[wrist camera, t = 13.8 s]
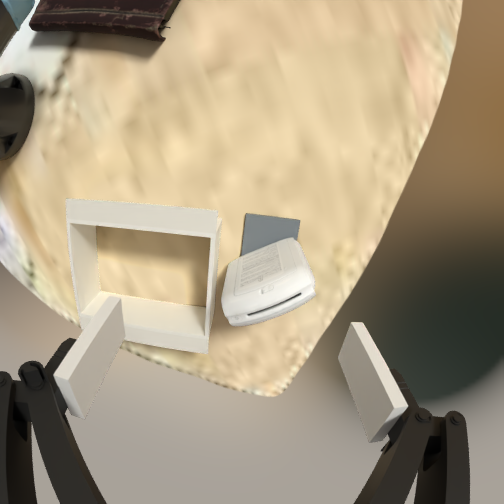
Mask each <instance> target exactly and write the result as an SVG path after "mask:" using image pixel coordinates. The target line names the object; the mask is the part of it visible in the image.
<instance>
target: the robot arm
mask: <svg viewBox="0 0 504 504" xmlns="http://www.w3.org/2000/svg"><path fill="white" fill-rule="evenodd" d="M34 3H35V0H0V57H1V55H2V54H3V52H4V50H5V49H6V47H7V46H8V44H9V42H10V41H11V39H12V38H13V36H14V35H15V33H16V32H17V31H19V30H20V26H21V24H22V23H23V21H24V20H25V19H26V17H27V16H28V14H29V13H30V12H31V10H32V8H33V6H34ZM33 113H34V92H33V88H32V85H31V83H30V81H29V80H28V79H27V78H26V77H25V76H23V75H20V74H14V73H10V74H5V75H1V76H0V160H4V159H8V158H10V157H11V156H13V155H14V154H15V153H16V152H17V151H18V150H19V149H20V147H21V146H22V144H23V143H24V141H25V139H26V137H27V135H28V132H29V129H30V126H31V123H32V119H33ZM124 338H125V329H124V321H123V313H122V303H121V298H118V297H113V296H109V297H108V298H107V299H106V301H105V302H104V303H103V304H102V306H101V307H100V308H99V310H98V311H97V313H96V314H95V315H94V317H93V318H92V319H91V321H90V322H89V323H88V325H87V326H86V328H85V329H84V330H83V332H82V333H81V335H80V336H79V337H78V339H77V340H76V339H72V338H69V339H67V340H66V341H64V342H63V343H62V344H61V345H60V346H59V348H58V350H57V351H56V352H55V354H54V356H52V358H51V359H50V360H49V362H48V363H47V365H46V366H45V368H43V365H42V364H41V363H39V362H37V361H28V362H26V363H24V364H23V365H21V367H20V369H19V371H18V375H19V377H20V379H21V381H17V380H12V378H11V376H10V374H9V373H7V372H3V371H1V372H0V504H37V499H36V492H35V484H34V474H33V462H32V439H31V422H32V424H33V428H34V432H35V435H36V439H37V443H38V446H39V449H40V453H41V455H42V459H43V461H44V464H45V467H46V470H47V473H48V475H49V478H50V481H51V483H52V486H53V488H54V490H55V493H56V495H57V497H58V500H59V502H60V504H106V501H105V500H104V498H103V496H102V495H101V493H100V491H99V489H98V487H97V485H96V484H95V481H94V480H93V478H92V476H91V474H90V472H89V470H88V467H87V466H86V463H85V461H84V459H83V457H82V455H81V452H80V450H79V448H78V446H77V443H76V441H75V438H74V436H73V433H72V430H71V428H70V425H69V423H68V420H67V417H66V415H65V412H66V410H67V408H68V409H69V411H70V413H71V415H74V416H76V417H79V418H82V419H85V418H86V416H87V414H88V412H89V410H90V407H91V405H92V403H93V401H94V399H95V397H96V394H97V392H98V390H99V388H100V386H101V384H102V382H103V380H104V378H105V376H106V374H107V372H108V370H109V368H110V366H111V364H112V362H113V360H114V358H115V356H116V354H117V352H118V350H119V348H120V346H121V344H122V342H123V340H124ZM338 359H339V362H340V364H341V367H342V370H343V372H344V375H345V378H346V380H347V383H348V386H349V388H350V391H351V394H352V396H353V399H354V402H355V405H356V407H357V410H358V413H359V416H360V419H361V421H362V424H363V427H364V430H365V433H366V436H367V439H368V442H369V443H371V442H377V441H382V440H383V439H384V438H385V437H386V435H387V434H388V436H389V438H390V440H389V441H388V442H387V444H386V445H385V446H384V447H383V448H382V449H381V451H383V453H382V455H381V457H380V458H379V460H378V462H377V464H376V466H375V468H374V470H373V472H372V474H371V476H370V477H369V479H368V481H367V483H366V484H365V486H364V488H363V489H362V491H361V493H360V494H359V496H358V498H357V499H356V501H355V503H354V504H404V503H405V501H406V498H407V496H408V494H409V491H410V489H411V486H412V484H413V482H414V479H415V477H416V474H417V471H418V476H417V486H416V493H415V499H414V504H470V468H469V466H470V465H469V448H468V437H467V427H466V421H465V418H464V416H463V415H462V414H460V413H459V412H457V411H450V412H448V413H447V415H446V416H445V417H435V416H432V414H431V413H430V412H429V411H428V410H426V409H424V408H419V406H418V404H417V402H416V401H415V399H414V397H413V395H412V393H411V392H410V390H409V389H408V386H407V384H406V383H405V381H404V379H403V377H402V375H401V374H400V373H399V372H398V371H397V370H396V369H388V367H387V365H386V363H385V361H384V359H383V358H382V356H381V354H380V352H379V350H378V349H377V347H376V345H375V343H374V341H373V340H372V338H371V336H370V334H369V333H368V331H367V329H366V327H365V326H364V324H363V323H361V322H351V324H350V327H349V330H348V333H347V335H346V338H345V341H344V343H343V346H342V349H341V351H340V354H339V356H338Z"/></svg>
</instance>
